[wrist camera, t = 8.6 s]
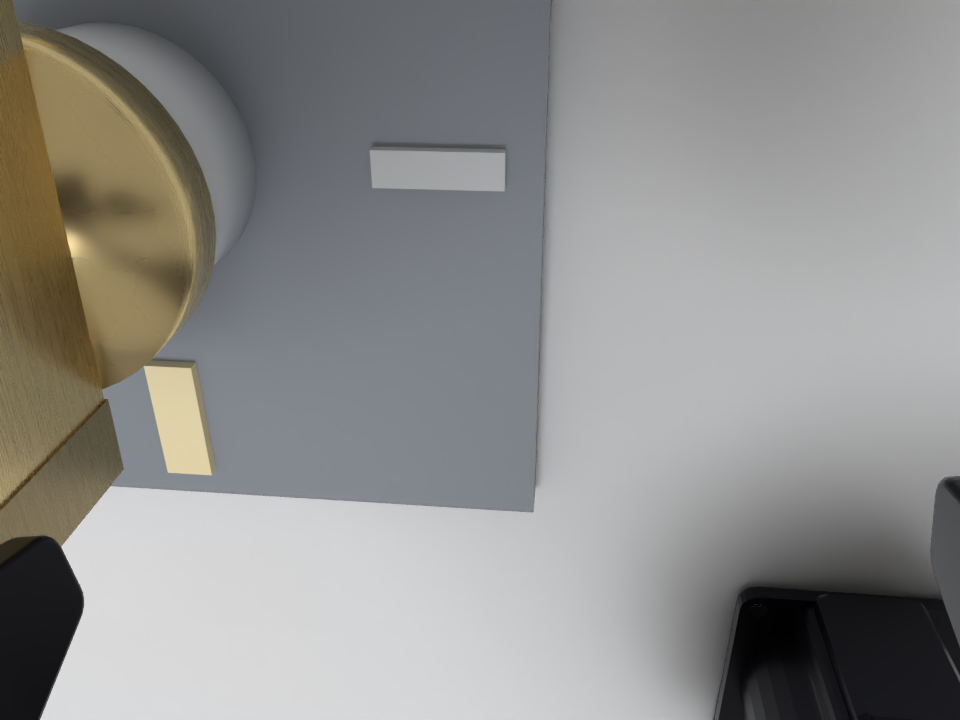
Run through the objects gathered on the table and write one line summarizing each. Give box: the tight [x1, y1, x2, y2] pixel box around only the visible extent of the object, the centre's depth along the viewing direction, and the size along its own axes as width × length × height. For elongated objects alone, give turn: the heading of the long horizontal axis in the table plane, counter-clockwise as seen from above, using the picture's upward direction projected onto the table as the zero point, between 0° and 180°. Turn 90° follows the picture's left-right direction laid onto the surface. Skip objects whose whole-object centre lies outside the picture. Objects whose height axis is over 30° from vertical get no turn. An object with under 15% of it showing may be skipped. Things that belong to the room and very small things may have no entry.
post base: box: [13, 0, 551, 512], centre depth 17 cm, size 18×18×4 cm
